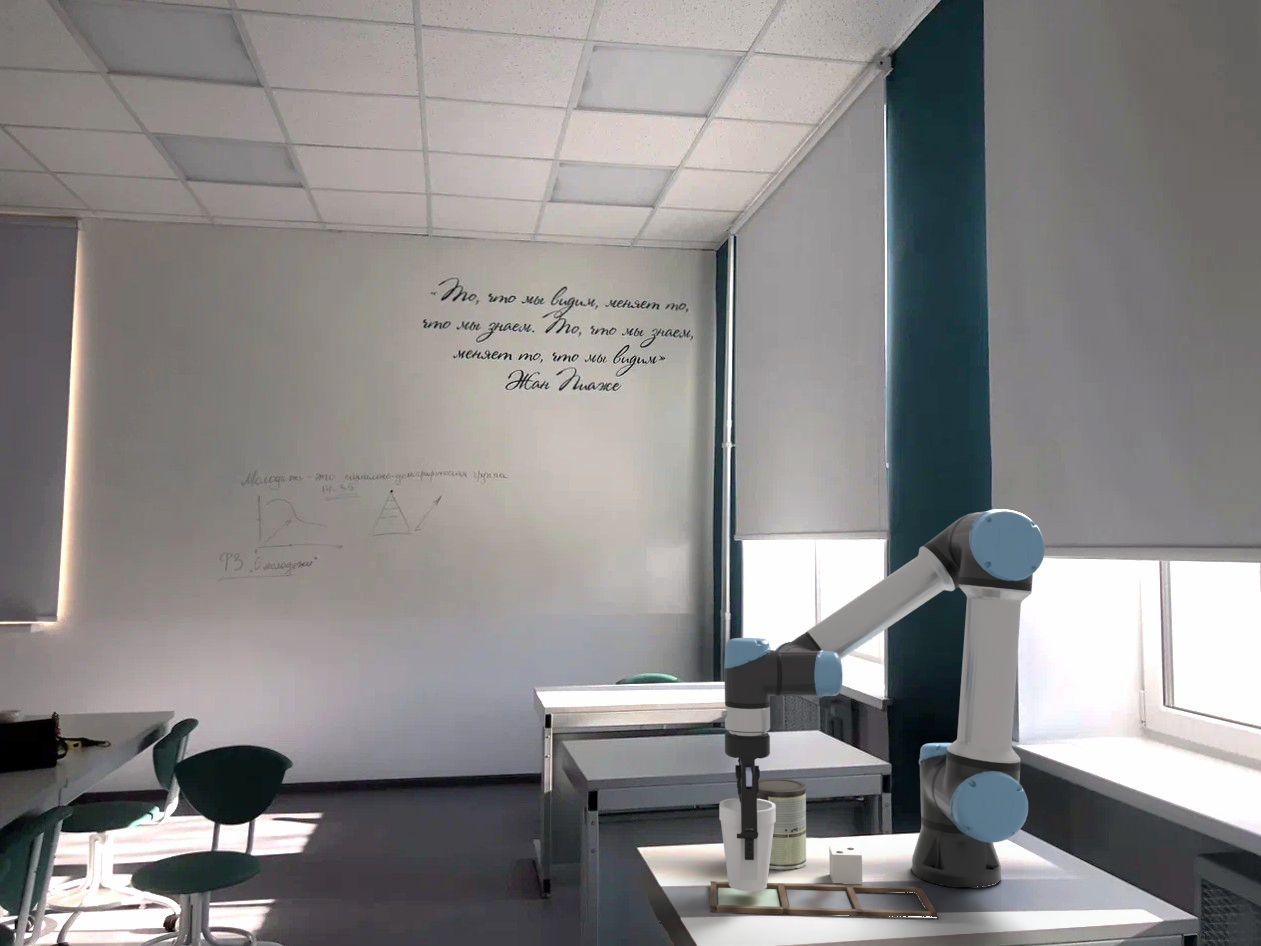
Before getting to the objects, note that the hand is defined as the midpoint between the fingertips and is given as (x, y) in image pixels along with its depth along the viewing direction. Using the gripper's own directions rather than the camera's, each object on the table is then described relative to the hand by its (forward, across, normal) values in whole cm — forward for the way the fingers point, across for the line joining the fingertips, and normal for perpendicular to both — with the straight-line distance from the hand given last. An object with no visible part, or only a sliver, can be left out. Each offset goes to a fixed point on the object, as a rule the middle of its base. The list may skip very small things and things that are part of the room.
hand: (747, 869), depth 163 cm
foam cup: (+3, 0, 0) cm, 3 cm away
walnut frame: (+5, 0, +12) cm, 13 cm away
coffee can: (+5, -21, +7) cm, 23 cm away
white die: (+5, -12, +18) cm, 22 cm away
